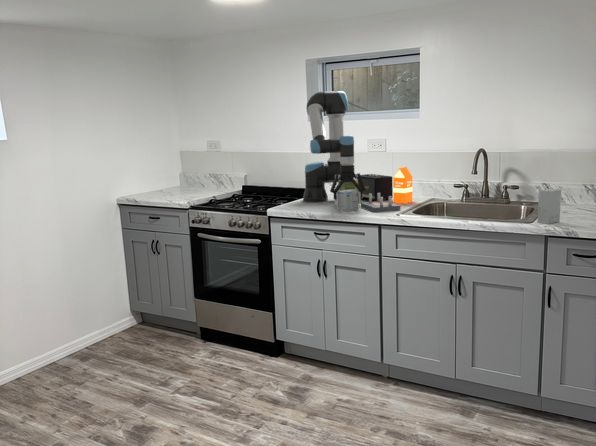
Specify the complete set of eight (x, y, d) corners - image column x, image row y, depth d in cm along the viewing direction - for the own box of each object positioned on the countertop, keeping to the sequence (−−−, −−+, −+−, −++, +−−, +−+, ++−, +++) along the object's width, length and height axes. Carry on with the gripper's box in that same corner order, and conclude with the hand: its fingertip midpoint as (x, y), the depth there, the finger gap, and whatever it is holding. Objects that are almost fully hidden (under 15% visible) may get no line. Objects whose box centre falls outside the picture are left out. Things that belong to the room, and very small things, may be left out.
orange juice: (412, 201, 322) (412, 167, 318) (405, 203, 315) (405, 168, 312) (400, 200, 327) (400, 166, 323) (393, 202, 320) (392, 168, 316)
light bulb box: (349, 208, 306) (349, 188, 304) (359, 209, 302) (358, 189, 300) (337, 210, 299) (336, 191, 297) (346, 211, 294) (346, 191, 292)
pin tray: (360, 207, 308) (360, 193, 307) (385, 205, 312) (385, 192, 310) (374, 212, 290) (373, 198, 288) (400, 210, 293) (400, 196, 292)
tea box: (355, 207, 309) (355, 180, 306) (338, 207, 311) (337, 181, 308) (358, 203, 323) (358, 177, 321) (341, 203, 325) (340, 178, 323)
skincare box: (548, 220, 252) (550, 187, 250) (560, 222, 247) (562, 189, 244) (536, 222, 248) (537, 189, 245) (548, 224, 243) (550, 190, 240)
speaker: (354, 198, 342) (354, 174, 339) (371, 196, 348) (371, 172, 345) (375, 202, 323) (375, 176, 320) (392, 200, 329) (392, 175, 326)
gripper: (327, 166, 289) (328, 207, 293) (371, 163, 295) (371, 203, 299) (323, 165, 296) (324, 205, 300) (365, 162, 302) (366, 202, 306)
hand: (348, 204), depth 300 cm, fingers closed on light bulb box, 12 cm apart
